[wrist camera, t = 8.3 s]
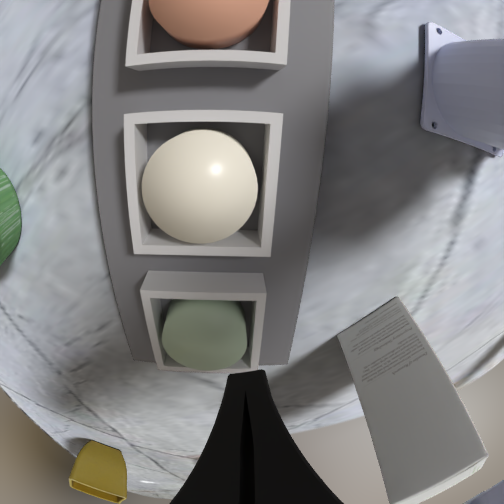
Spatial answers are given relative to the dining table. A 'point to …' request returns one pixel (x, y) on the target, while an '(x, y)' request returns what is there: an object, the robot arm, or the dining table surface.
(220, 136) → the cream button
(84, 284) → the dining table surface
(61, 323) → the dining table surface
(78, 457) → the flower pot
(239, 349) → the sage button
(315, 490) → the robot arm
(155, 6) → the terracotta button
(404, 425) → the skincare box
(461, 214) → the dining table surface
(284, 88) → the button panel
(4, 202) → the ramekin
